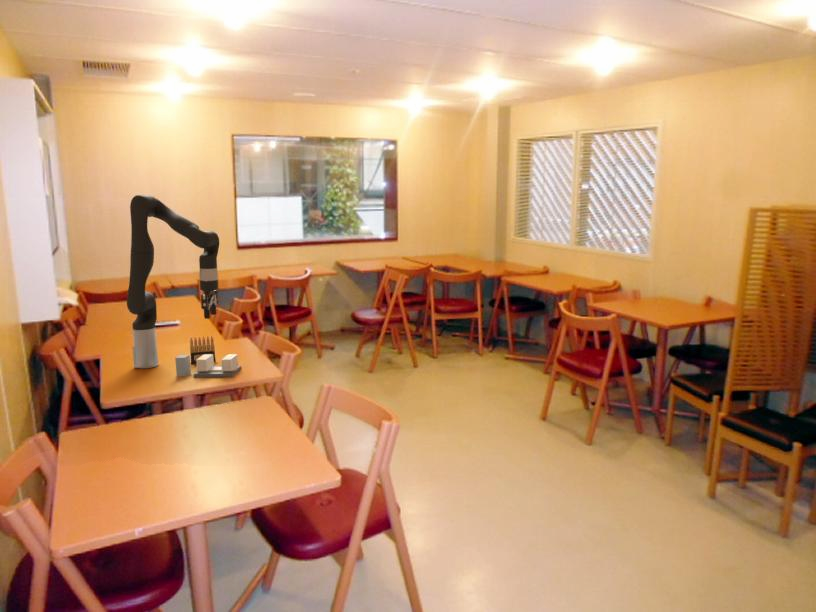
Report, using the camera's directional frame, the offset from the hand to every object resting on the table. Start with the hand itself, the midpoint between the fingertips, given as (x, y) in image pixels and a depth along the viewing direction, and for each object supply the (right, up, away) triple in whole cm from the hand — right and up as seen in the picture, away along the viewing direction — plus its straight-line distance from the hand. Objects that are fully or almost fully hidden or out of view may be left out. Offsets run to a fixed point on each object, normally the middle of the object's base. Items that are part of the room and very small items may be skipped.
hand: (210, 316), depth 257 cm
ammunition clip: (-9, -21, +17) cm, 29 cm away
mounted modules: (+4, -22, -2) cm, 22 cm away
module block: (-10, -25, -3) cm, 27 cm away
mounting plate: (+4, -24, -1) cm, 24 cm away
